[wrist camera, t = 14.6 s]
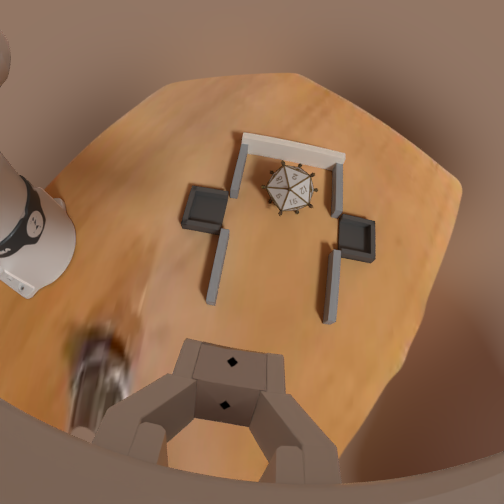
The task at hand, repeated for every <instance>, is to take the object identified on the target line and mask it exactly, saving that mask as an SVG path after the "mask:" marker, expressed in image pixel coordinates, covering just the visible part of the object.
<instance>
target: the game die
mask: <svg viewBox="0 0 504 504" xmlns="http://www.w3.org/2000/svg"><path fill="white" fill-rule="evenodd" d="M281 163H282V165H283V166H282V167H281V168H279V169H278V170H277V171H276V172H275V173H274V172H273V171H270V173H271V174H273V175H272V177H271V178H270V180H269V182H268V184H267V185H266V186H265V185H264V186H263V185H262V186H261V188H262V189H265V188H266V189H267V191H268V193H269V196H270V198H271V199H270V200H269V203H271V202H272V201H273V202H274V204H275V205H276V206H277V207H278V208H279V210H280V212H279V213H278V214H279V216H280V215H282V211H295V210H296V213H297V214H298V213H299V212H298V210H299V209H301V208H303V207H305V206H309V207H310V208H313V205H311V204H310V200H311V197H312V194H313V191H316V192H317V191H318V189H317V188H316V189H314V188H313V183H312V178H311V177H313V176H314V175H315V173H312V174H311V175H309V174H308V173H307V172H305V171H304V170H303V169H301V168H300V167H301V166H302V165H301V163H300V164H299V165H298V167H295V166H288V165H285V162H284V161H283V160H282V162H281Z"/></svg>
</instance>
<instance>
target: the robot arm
mask: <svg viewBox="0 0 504 504" xmlns="http://www.w3.org/2000/svg"><path fill="white" fill-rule="evenodd" d="M10 60H11V56H10V48H9V44H8V41H7V39H6V37H5V35H4V34H3V32H2V31H1V30H0V87H1V86H2V84H3V83H4V82H5V80H6V79H7V77H8V74H9V69H10ZM75 243H76V234H75V228H74V225H73V223H72V221H71V219H70V218H69V217H68V215H67V213H66V208H65V203H64V201H63V200H62V199H61V198H52V197H51V196H50V195H49V194H48V193H47V192H46V191H45V190H44V189H43V188H41V187H33V186H32V184H31V183H30V182H29V181H27V180H26V179H25V178H24V177H23V176H21V175H18V173H17V172H16V171H15V170H14V169H13V167H12V166H11V165H10V163H9V162H8V161H7V160H6V158H5V157H4V156H3V154H2V153H1V152H0V280H2V281H3V282H4V283H6V284H7V285H8V286H10V287H11V288H12V289H14V290H15V291H16V292H18V293H19V294H20V295H22V296H23V297H25V298H26V299H29V298H31V297H32V296H33V295H34V294H35V293H36V292H37V291H38V290H39V289H40V288H42V287H44V286H46V285H48V284H50V283H52V282H53V281H55V280H56V279H57V278H58V277H59V276H60V275H61V274H62V273H63V272H64V271H65V269H66V268H67V266H68V264H69V263H70V260H71V258H72V256H73V253H74V249H75ZM23 287H24V289H23ZM194 418H198V419H204V420H210V421H217V422H223V423H228V424H234V425H240V426H246V427H249V429H250V431H251V433H252V434H253V436H254V438H255V440H256V441H257V443H258V445H259V447H260V448H261V450H262V452H263V453H264V455H265V457H266V458H267V460H268V462H269V464H268V466H267V468H266V470H265V471H264V473H263V475H262V477H261V478H260V480H259V482H253V481H244V480H236V479H228V478H221V477H215V476H209V475H203V474H198V473H192V472H188V471H183V470H178V469H174V468H170V467H168V456H167V442H169V441H170V440H171V439H172V438H173V437H174V436H175V435H177V434H178V433H179V432H180V431H181V430H182V429H183V428H185V427H186V426H187V425H188V424H189V423H190V422H191V421H192V420H193V419H194ZM0 504H504V451H503V452H501V453H498V454H495V455H492V456H489V457H486V458H483V459H480V460H477V461H473V462H470V463H467V464H463V465H459V466H455V467H452V468H448V469H443V470H440V471H435V472H430V473H425V474H420V475H415V476H409V477H403V478H396V479H389V480H382V481H372V482H361V483H346V484H342V482H341V475H340V468H339V460H338V453H337V447H336V446H335V445H334V444H333V442H332V441H331V440H330V439H329V438H328V437H327V436H326V435H325V434H324V432H323V431H322V430H321V429H320V428H319V427H318V426H317V425H316V423H315V422H314V421H313V420H312V419H311V418H310V417H309V415H308V414H307V413H306V412H305V411H304V410H303V409H302V407H301V406H300V405H299V404H298V403H297V402H296V400H295V399H294V398H293V397H292V396H291V395H290V394H286V391H285V370H284V357H283V355H280V354H272V353H262V352H255V351H249V350H243V349H236V348H231V347H226V346H221V345H216V344H212V343H207V342H201V341H197V340H192V339H188V338H186V339H185V341H184V343H183V346H182V349H181V351H180V354H179V357H178V360H177V363H176V365H175V368H174V371H173V374H168V373H167V374H166V375H164V376H163V377H161V378H159V379H158V380H156V381H154V382H153V383H151V384H149V385H148V386H146V387H144V388H143V389H141V390H139V391H137V392H136V393H134V394H132V395H131V396H129V397H127V398H125V399H124V400H122V401H120V402H119V403H117V404H115V405H113V406H111V407H110V408H108V409H107V411H106V414H105V416H104V418H103V420H102V422H101V424H100V426H99V428H98V430H97V433H96V435H95V437H94V439H93V441H92V443H89V442H87V441H85V440H82V439H80V438H77V437H75V436H73V435H70V434H68V433H66V432H64V431H61V430H59V429H57V428H55V427H53V426H51V425H49V424H47V423H45V422H42V421H41V420H39V419H37V418H35V417H33V416H31V415H29V414H27V413H25V412H23V411H22V410H20V409H18V408H16V407H15V406H13V405H11V404H9V403H8V402H6V401H4V400H3V399H1V398H0Z"/></svg>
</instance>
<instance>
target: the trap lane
mask: <svg viewBox="0 0 504 504" xmlns="http://www.w3.org/2000/svg"><path fill="white" fill-rule="evenodd" d="M247 153H248V154H254V155H259V156H265V157H270V158H276V159H281V160H286V161H291V162H295V163H301V164H305V165H309V166H314V167H318V168H323V169H327V170H331V171H332V205H331V217H333V218H338V217H339V216H340V214H341V213H342V211H343V163H344V161H345V153H341V152H337V151H333V150H329V149H325V148H321V147H316V146H312V145H307V144H303V143H298V142H294V141H289V140H284V139H279V138H273V137H268V136H263V135H257V134H251V133H245V132H244V133H243V137H242V144H241V148H240V152H239V156H238V160H237V164H236V168H235V173H234V177H233V181H232V185H231V189H230V198H236V199H237V198H238V193H239V189H240V184H241V179H242V175H243V171H244V166H245V162H246V157H247ZM228 192H229V191H223V190H217V189H211V188H205V187H199V186H192V188H191V191H190V195H189V198H188V201H187V205H186V208H185V211H184V215H183V218H182V222H181V225H182V228H183V229H189V230H194V231H200V232H206V233H211V234H217V235H220V237H219V241H218V246H217V250H216V255H215V260H214V264H213V269H212V274H211V278H210V283H209V288H208V293H207V298H206V303H207V304H209V305H214V306H215V304H216V299H217V294H218V288H219V283H220V279H221V274H222V269H223V264H224V259H225V254H226V249H227V244H228V240H229V230H228V229H222V228H221V227H222V222H223V218H224V214H225V209H226V205H227V201H228ZM220 231H221V232H220ZM341 258H346V259H352V260H357V261H362V262H367V263H372V262H373V261H374V260H375V221H372V220H368V219H363V218H359V217H355V216H350V215H346V214H342V216H341V217H340V218H339V238H338V250H335V249H334V250H333V251H332V252H331V253H330V254H329V259H328V273H327V285H326V296H325V306H324V316H323V324H332V323H334V322H336V315H337V304H338V292H339V278H340V262H341Z"/></svg>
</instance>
